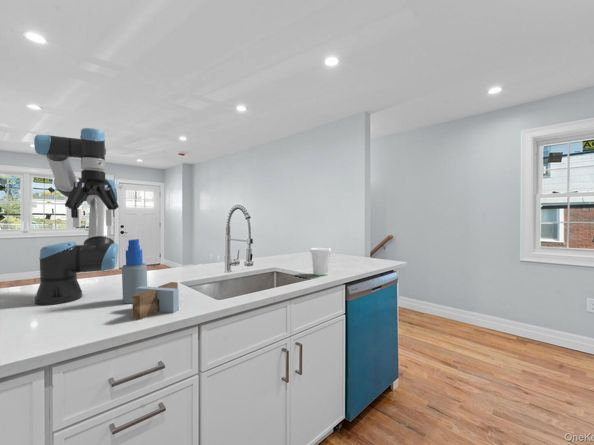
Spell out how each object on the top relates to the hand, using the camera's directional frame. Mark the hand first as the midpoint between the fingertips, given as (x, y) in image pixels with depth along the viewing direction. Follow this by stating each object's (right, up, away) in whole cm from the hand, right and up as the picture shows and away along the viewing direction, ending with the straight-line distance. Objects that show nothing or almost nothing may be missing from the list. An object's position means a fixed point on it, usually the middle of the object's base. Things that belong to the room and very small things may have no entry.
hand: (94, 226), depth 112 cm
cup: (+92, -29, +61) cm, 114 cm away
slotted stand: (+26, -31, -3) cm, 40 cm away
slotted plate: (+26, -31, -3) cm, 40 cm away
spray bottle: (+11, -31, +8) cm, 34 cm away
